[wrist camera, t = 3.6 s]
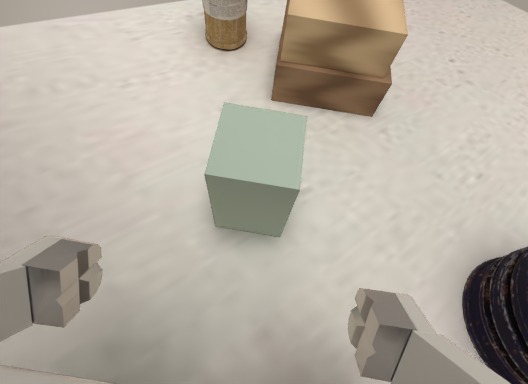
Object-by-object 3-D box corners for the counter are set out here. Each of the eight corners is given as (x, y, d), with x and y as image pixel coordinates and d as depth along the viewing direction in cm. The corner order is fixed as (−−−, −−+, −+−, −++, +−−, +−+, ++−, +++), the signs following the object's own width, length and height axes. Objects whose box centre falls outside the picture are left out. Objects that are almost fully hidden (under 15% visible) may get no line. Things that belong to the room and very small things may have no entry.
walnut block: (270, 103, 28) (276, 65, 24) (281, 38, 33) (287, -3, 29) (370, 119, 29) (391, 83, 25) (367, 52, 33) (385, 13, 29)
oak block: (280, 60, 25) (287, 14, 21) (290, 0, 29) (298, -48, 25) (383, 78, 25) (407, 34, 21) (379, 15, 29) (399, -31, 25)
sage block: (215, 226, 22) (204, 174, 15) (228, 171, 24) (224, 102, 17) (279, 236, 22) (299, 189, 15) (286, 180, 24) (307, 116, 17)
